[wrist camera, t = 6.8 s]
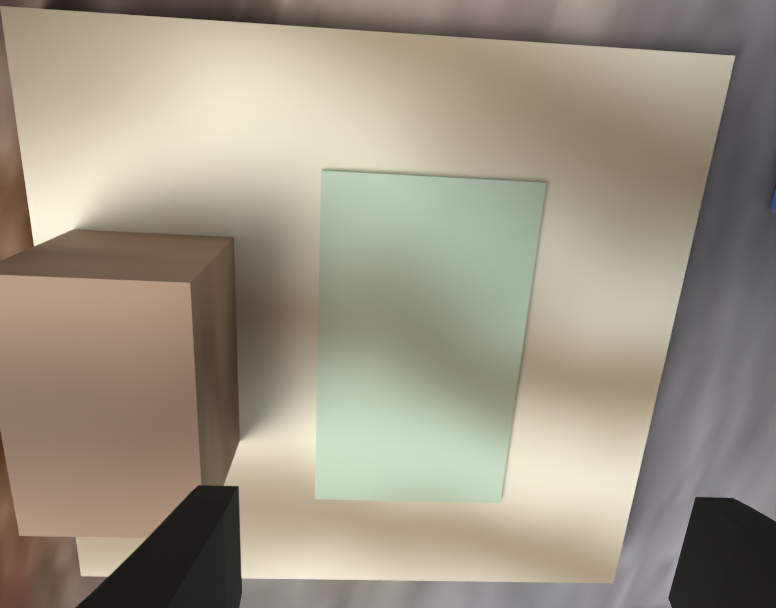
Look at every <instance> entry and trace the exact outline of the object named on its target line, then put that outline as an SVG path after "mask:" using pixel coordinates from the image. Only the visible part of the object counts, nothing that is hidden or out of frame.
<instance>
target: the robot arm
mask: <svg viewBox="0 0 776 608" xmlns="http://www.w3.org/2000/svg"><path fill="white" fill-rule="evenodd" d="M241 594H242V578H241V545H240V511H239V486H210V485H198V486H197V487H196V488H195V489H194V490H192V491H191V492H190V493H189V494H188V495H187V496H186V497H185V499H184V500H183V501H182V502H181V503H180V504H179V505H178V506H177V507H176V508H175V509H174V510H173V511H172V512H171V513H170V514H169V515H168V517H167V518H166V519H165V520H164V521H163V522H162V523H161V524H160V525H159V526H158V527H157V528H156V529H155V530H154V531H153V532H152V533H151V534H150V535H149V536H148V537H147V538H146V540H145V541H144V542H143V543H142V544H141V545H140V546H139V547H138V548H137V549H136V550H135V551H134V552H133V553H132V554H131V555H130V556H129V557H128V558H127V559H126V560H125V561H124V562H123V563H122V564H121V565H120V566H119V567H118V568H117V569H115V570H114V571H113V572H112V573H111V574H110V575H109V576H108V577H107V578H106V579H105V580H104V581H103V582H102V583H101V584H100V585H99V586H98V587H97V588H96V589H95V590H94V591H93V592H92V593H91V594H90V595H89V596H88V597H87V598H86V599H84V600H83V601H82V602H81V603H80V604H79V605H78V606H77V607H76V608H239V605H240V600H241ZM669 601H670V603H671V606H672V608H776V522H775V521H774V520H772V519H770V518H769V517H767V516H765V515H763V514H762V513H760V512H758V511H756V510H755V509H753V508H751V507H749V506H747V505H745V504H743V503H741V502H740V501H738V500H736V499H734V498H712V497H696V498H695V501H694V505H693V509H692V513H691V516H690V520H689V524H688V527H687V531H686V535H685V539H684V542H683V546H682V550H681V553H680V557H679V561H678V564H677V568H676V572H675V576H674V579H673V583H672V587H671V590H670V594H669Z"/></svg>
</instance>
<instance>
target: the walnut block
mask: <svg viewBox="0 0 776 608" xmlns="http://www.w3.org/2000/svg"><path fill="white" fill-rule="evenodd" d="M0 430H1V436H2V441H3V447H4V452H5V458H6V463H7V469H8V474H9V480H10V485H11V491H12V497H13V502H14V508H15V513H16V519H17V524H18V530H19V535H20V536H59V537H118V538H147V537H148V536H149V535H150V534H151V533H152V532H153V531H154V530H155V529H156V528H157V527H158V526H159V525H160V524H161V523H162V522H163V521H164V520H165V519H166V518H167V517H168V515H169V514H170V513H171V512H172V511H173V510H174V509H175V508H176V507H177V506H178V505H179V504H180V503H181V502H182V501H183V500H184V499H185V497H186V496H187V495H188V494H189V493H190V492H191V491H192V490H194V489H195V488H196V487H197V486H198V485H210V486H224V483H225V480H226V478H227V475H228V472H229V469H230V467H231V464H232V461H233V458H234V456H235V453H236V450H237V447H238V444H239V442H240V433H239V398H238V364H237V329H236V295H235V260H234V237H222V236H201V235H179V234H158V233H136V232H115V231H93V230H71V231H68V232H66V233H64V234H61V235H59V236H57V237H55V238H52V239H50V240H48V241H45V242H43V243H41V244H39V245H36V246H34V247H32V248H30V249H27V250H25V251H23V252H20V253H18V254H16V255H14V256H11V257H9V258H7V259H5V260H2V261H0Z"/></svg>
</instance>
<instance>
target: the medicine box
mask: <svg viewBox="0 0 776 608" xmlns="http://www.w3.org/2000/svg"><path fill="white" fill-rule="evenodd" d="M771 210H772V212H774V213H776V187H775V191H774V195H773V199H772V203H771Z"/></svg>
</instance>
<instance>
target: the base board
mask: <svg viewBox="0 0 776 608" xmlns="http://www.w3.org/2000/svg"><path fill="white" fill-rule="evenodd" d="M0 10H1V17H2V24H3V31H4V38H5V45H6V52H7V59H8V66H9V73H10V80H11V87H12V94H13V101H14V108H15V115H16V122H17V129H18V136H19V143H20V150H21V157H22V164H23V171H24V178H25V185H26V192H27V199H28V206H29V213H30V220H31V227H32V234H33V241H34V246H36V245H39V244H41V243H43V242H45V241H48V240H50V239H52V238H55V237H57V236H59V235H61V234H64V233H66V232H68V231H71V230H93V231H115V232H136V233H158V234H179V235H201V236H222V237H234V260H235V295H236V329H237V364H238V398H239V433H240V442H239V444H238V447H237V450H236V453H235V456H234V458H233V461H232V464H231V467H230V469H229V472H228V475H227V478H226V480H225V483H224V486H239V511H240V545H241V578H265V579H340V580H415V581H491V582H566V583H614V579H615V575H616V570H617V566H618V562H619V557H620V553H621V549H622V544H623V540H624V536H625V531H626V527H627V523H628V518H629V514H630V510H631V505H632V501H633V497H634V492H635V488H636V484H637V479H638V475H639V471H640V466H641V462H642V458H643V453H644V449H645V445H646V440H647V436H648V432H649V427H650V423H651V419H652V414H653V410H654V406H655V401H656V397H657V393H658V388H659V384H660V380H661V376H662V371H663V367H664V363H665V358H666V354H667V350H668V345H669V341H670V337H671V332H672V328H673V324H674V319H675V315H676V311H677V306H678V302H679V298H680V293H681V289H682V285H683V280H684V276H685V272H686V267H687V263H688V259H689V254H690V250H691V246H692V241H693V237H694V233H695V228H696V224H697V220H698V215H699V211H700V207H701V202H702V198H703V194H704V189H705V185H706V181H707V176H708V172H709V168H710V163H711V159H712V155H713V150H714V146H715V142H716V137H717V133H718V129H719V124H720V120H721V116H722V111H723V107H724V103H725V99H726V94H727V90H728V86H729V81H730V77H731V73H732V68H733V64H734V60H735V56H732V55H717V54H702V53H687V52H672V51H658V50H643V49H628V48H613V47H599V46H584V45H569V44H554V43H539V42H525V41H510V40H495V39H480V38H465V37H451V36H436V35H421V34H406V33H391V32H377V31H362V30H347V29H332V28H317V27H303V26H288V25H273V24H258V23H243V22H229V21H214V20H199V19H184V18H169V17H155V16H140V15H125V14H110V13H96V12H81V11H66V10H51V9H36V8H22V7H7V6H0ZM145 540H146V538H118V537H76V542H77V549H78V556H79V563H80V570H81V576H109V575H110V574H111V573H112V572H113V571H114V570H115V569H117V568H118V567H119V566H120V565H121V564H122V563H123V562H124V561H125V560H126V559H127V558H128V557H129V556H130V555H131V554H132V553H133V552H134V551H135V550H136V549H137V548H138V547H139V546H140V545H141V544H142V543H143V542H144V541H145Z"/></svg>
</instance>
